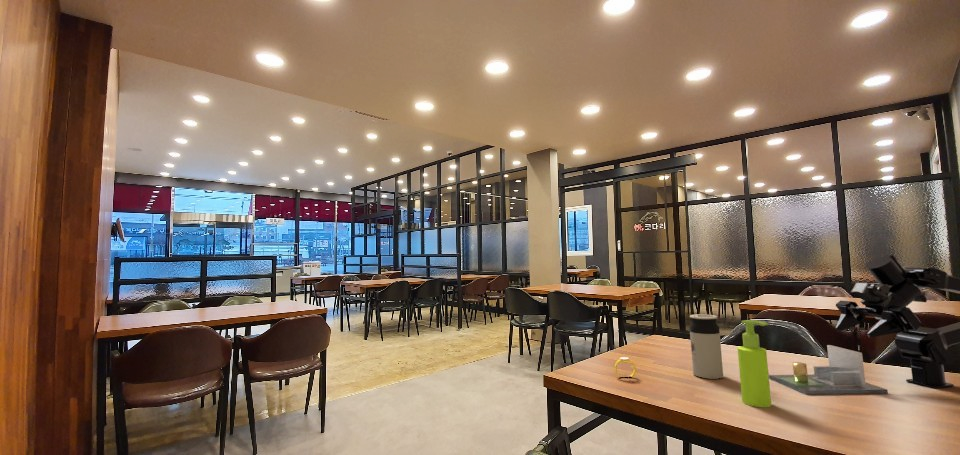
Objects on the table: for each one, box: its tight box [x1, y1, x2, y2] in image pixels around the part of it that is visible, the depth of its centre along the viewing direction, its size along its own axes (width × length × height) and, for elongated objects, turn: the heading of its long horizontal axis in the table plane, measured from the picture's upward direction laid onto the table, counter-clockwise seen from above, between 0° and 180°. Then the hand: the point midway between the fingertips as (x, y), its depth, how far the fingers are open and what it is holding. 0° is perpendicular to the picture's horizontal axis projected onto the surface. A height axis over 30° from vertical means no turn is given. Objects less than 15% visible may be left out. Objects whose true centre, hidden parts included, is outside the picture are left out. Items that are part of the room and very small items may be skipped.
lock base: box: [768, 361, 889, 396], centre depth 108 cm, size 20×14×6 cm
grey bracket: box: [813, 344, 867, 386], centre depth 108 cm, size 6×10×8 cm, turn 177°
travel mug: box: [689, 313, 724, 380], centre depth 121 cm, size 8×8×18 cm
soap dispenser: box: [737, 319, 772, 408], centre depth 97 cm, size 6×7×20 cm
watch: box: [614, 356, 637, 378], centre depth 121 cm, size 6×3×6 cm, turn 80°
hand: (852, 332), depth 107 cm, fingers open, 9 cm apart
